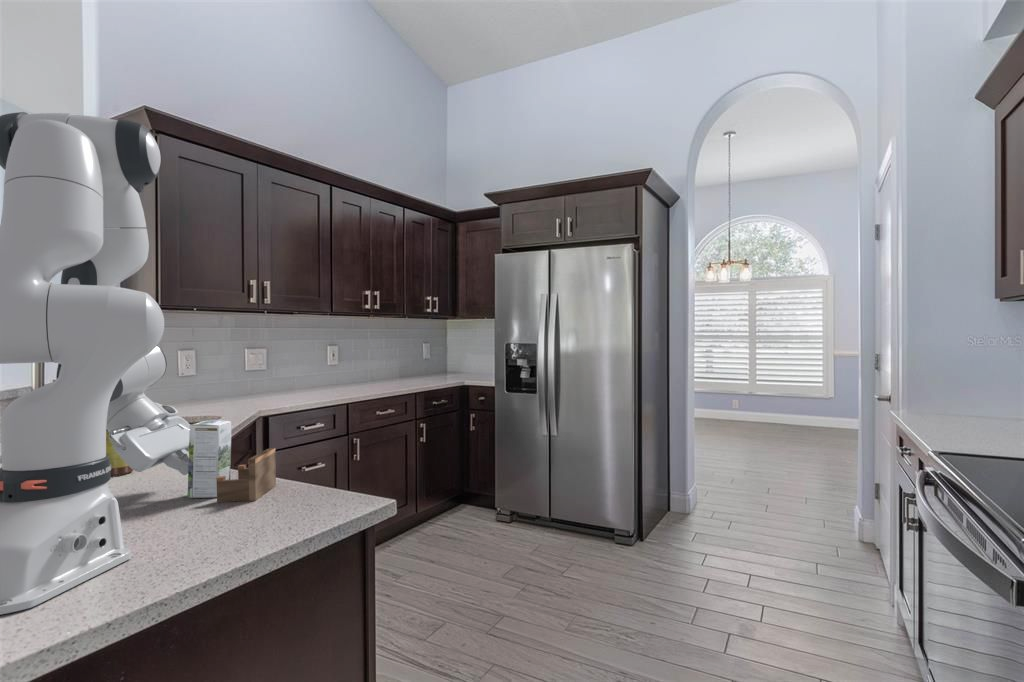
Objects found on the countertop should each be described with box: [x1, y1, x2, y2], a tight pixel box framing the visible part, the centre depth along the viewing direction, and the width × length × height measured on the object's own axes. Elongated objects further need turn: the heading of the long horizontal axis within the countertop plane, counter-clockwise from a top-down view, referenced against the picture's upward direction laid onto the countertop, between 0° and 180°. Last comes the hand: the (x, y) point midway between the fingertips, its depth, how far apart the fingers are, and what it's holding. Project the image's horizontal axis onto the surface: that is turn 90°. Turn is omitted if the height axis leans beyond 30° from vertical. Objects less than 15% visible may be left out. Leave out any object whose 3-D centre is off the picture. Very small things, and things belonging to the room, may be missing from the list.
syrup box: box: [187, 419, 232, 499], centre depth 107 cm, size 6×6×14 cm
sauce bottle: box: [106, 429, 134, 477], centre depth 126 cm, size 7×6×20 cm
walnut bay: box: [216, 447, 277, 503], centre depth 107 cm, size 11×7×8 cm
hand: (191, 471), depth 106 cm, fingers closed, pressing on syrup box
